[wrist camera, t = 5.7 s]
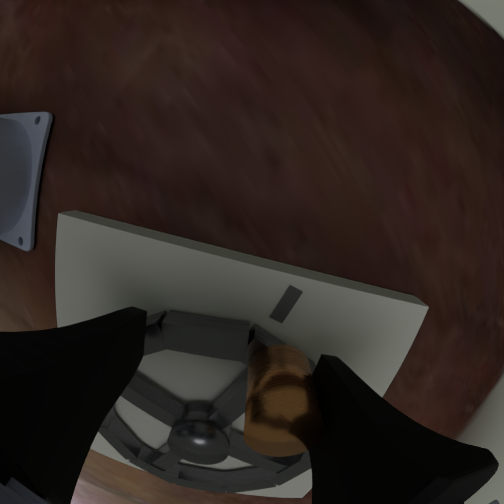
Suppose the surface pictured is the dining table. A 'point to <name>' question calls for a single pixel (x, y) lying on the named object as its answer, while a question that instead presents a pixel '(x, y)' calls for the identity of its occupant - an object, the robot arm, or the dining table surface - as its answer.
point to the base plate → (225, 306)
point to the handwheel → (226, 408)
